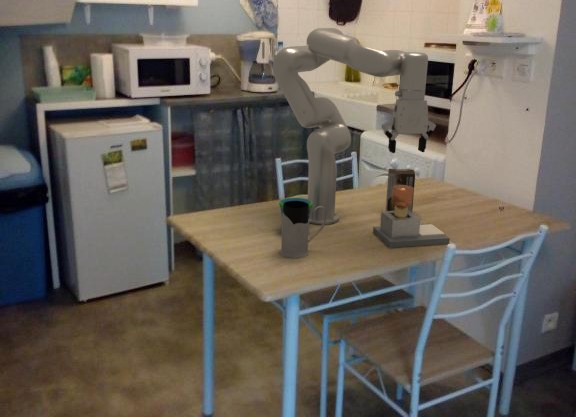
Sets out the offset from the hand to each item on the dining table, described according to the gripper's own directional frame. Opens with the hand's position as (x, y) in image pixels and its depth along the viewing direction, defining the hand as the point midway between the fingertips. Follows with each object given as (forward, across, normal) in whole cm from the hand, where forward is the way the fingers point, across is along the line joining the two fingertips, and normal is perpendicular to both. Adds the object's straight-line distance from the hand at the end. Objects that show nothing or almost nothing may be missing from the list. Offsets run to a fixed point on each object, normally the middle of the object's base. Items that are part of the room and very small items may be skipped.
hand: (406, 151), depth 189 cm
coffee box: (+28, +10, +23) cm, 38 cm away
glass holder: (+28, -33, -5) cm, 44 cm away
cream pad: (+26, +9, 0) cm, 28 cm away
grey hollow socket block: (+26, 0, 0) cm, 26 cm away
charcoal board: (+28, +4, 0) cm, 29 cm away
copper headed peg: (+26, 0, 0) cm, 26 cm away
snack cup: (+28, -31, +12) cm, 44 cm away
